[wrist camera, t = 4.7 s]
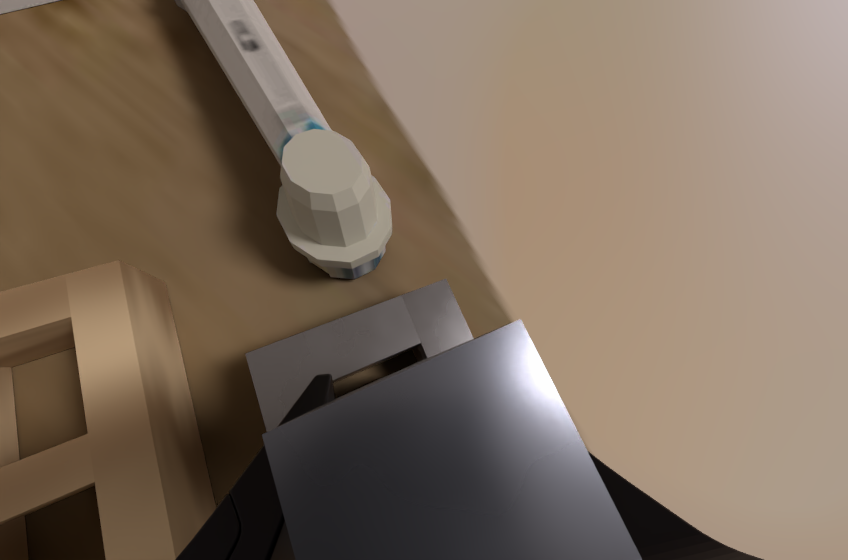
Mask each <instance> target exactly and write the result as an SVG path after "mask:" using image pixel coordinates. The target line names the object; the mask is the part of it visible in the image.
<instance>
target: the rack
mask: <svg viewBox="0 0 848 560" xmlns="http://www.w3.org/2000/svg"><path fill="white" fill-rule="evenodd" d="M73 347H75V348H76V355H77V362H78V369H79V376H80V383H81V390H82V397H83V404H84V411H85V418H86V425H87V432H88V434H85V435H83V436H80V437H78V438H75V439H73V440H70V441H67V442H65V443H62V444H60V445H57V446H55V447H52V448H49V449H47V450H44V451H42V452H39V453H37V454H34V455H31V456H29V457H26V458H24V459H21V460H20V458H19V447H18V436H17V425H16V414H15V403H14V392H13V380H12V369H11V367H15V366H18V365H21V364H24V363H27V362H30V361H33V360H36V359H39V358H42V357H46V356H49V355H52V354H55V353H58V352H61V351H64V350H67V349H70V348H73ZM93 486H95V488H96V495H97V502H98V509H99V516H100V523H101V530H102V537H103V544H104V551H105V558H106V560H175V559H176V558H177V557H178V555H179V554H180V553H181V552H182V551H183V550H184V548H185V547H186V546H187V545H188V544H189V542H190V541H191V540H192V539H193V537H194V536H195V535H196V534H197V532H198V531H199V530H200V528H201V527H202V526H203V525H204V523H205V522H206V521H207V520H208V518H209V517H210V516H211V514H212V513H213V512H214V510H215V509H216V505H215V500H214V496H213V492H212V487H211V483H210V478H209V474H208V469H207V465H206V461H205V456H204V452H203V447H202V443H201V438H200V434H199V430H198V425H197V421H196V416H195V412H194V407H193V403H192V398H191V394H190V390H189V385H188V381H187V376H186V372H185V367H184V363H183V359H182V354H181V350H180V345H179V341H178V336H177V332H176V327H175V323H174V319H173V314H172V310H171V305H170V301H169V296H168V292H167V288H166V283H165V282H163V281H161V280H159V279H157V278H155V277H153V276H151V275H149V274H147V273H145V272H143V271H141V270H139V269H136V268H134V267H132V266H130V265H128V264H126V263H124V262H122V261H120V260H117V261H113V262H110V263H106V264H102V265H99V266H95V267H91V268H87V269H84V270H80V271H76V272H72V273H69V274H65V275H61V276H58V277H54V278H50V279H46V280H43V281H39V282H35V283H31V284H28V285H24V286H20V287H17V288H13V289H9V290H5V291H2V292H0V560H29V557H28V546H27V535H26V524H25V515H28V514H30V513H32V512H35V511H37V510H39V509H42V508H44V507H46V506H49V505H51V504H53V503H56V502H58V501H60V500H63V499H65V498H67V497H70V496H72V495H74V494H77V493H79V492H81V491H84V490H86V489H88V488H91V487H93Z"/></svg>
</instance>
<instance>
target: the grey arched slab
mask: <svg viewBox="0 0 848 560" xmlns="http://www.w3.org/2000/svg"><path fill="white" fill-rule="evenodd" d="M55 1H60V0H0V14H3V13H8V12H12V11H16V10H21V9H25V8H29V7H34V6H38V5H42V4H47V3H51V2H55Z"/></svg>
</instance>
